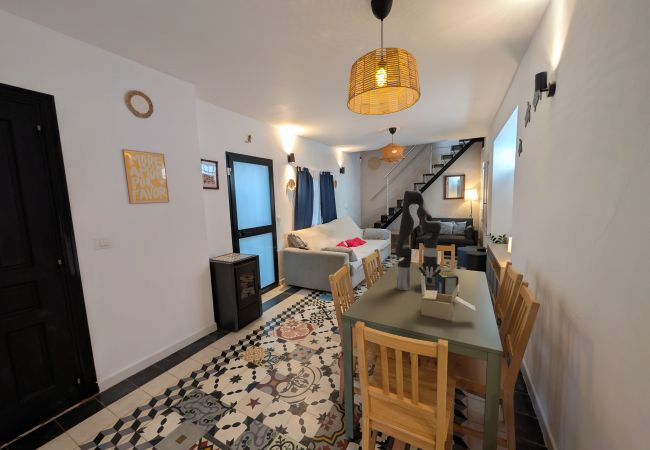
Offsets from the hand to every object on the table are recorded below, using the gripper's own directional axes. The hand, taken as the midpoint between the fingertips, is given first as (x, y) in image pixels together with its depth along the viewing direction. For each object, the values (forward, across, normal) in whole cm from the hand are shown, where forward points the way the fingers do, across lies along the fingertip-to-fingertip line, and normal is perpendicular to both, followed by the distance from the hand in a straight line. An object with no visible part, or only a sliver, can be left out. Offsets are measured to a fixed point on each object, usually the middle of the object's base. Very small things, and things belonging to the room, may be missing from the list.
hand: (429, 283), depth 150 cm
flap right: (+4, +14, 0) cm, 14 cm away
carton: (+18, +5, 0) cm, 18 cm away
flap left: (+7, 0, 0) cm, 7 cm away
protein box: (+18, +8, +33) cm, 38 cm away
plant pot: (+18, -4, +51) cm, 54 cm away
